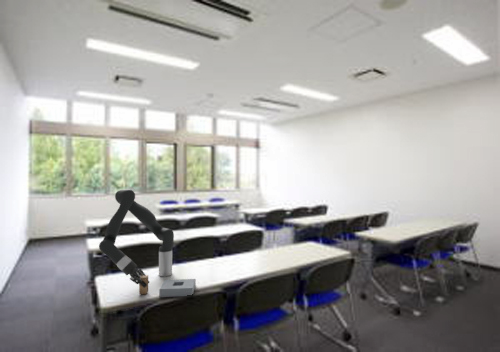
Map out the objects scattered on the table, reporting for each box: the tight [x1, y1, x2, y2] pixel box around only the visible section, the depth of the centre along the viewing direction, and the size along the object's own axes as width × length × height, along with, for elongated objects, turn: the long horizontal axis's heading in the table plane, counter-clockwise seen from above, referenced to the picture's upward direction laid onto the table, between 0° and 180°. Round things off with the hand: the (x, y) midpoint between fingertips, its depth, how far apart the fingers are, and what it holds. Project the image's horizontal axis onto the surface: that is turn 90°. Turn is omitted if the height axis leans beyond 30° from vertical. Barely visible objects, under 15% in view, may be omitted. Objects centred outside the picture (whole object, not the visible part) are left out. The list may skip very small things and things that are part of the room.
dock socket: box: [158, 278, 197, 298], centre depth 164 cm, size 15×19×4 cm
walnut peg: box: [138, 274, 149, 295], centre depth 160 cm, size 4×4×10 cm
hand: (147, 284), depth 160 cm, fingers closed on walnut peg, 4 cm apart
